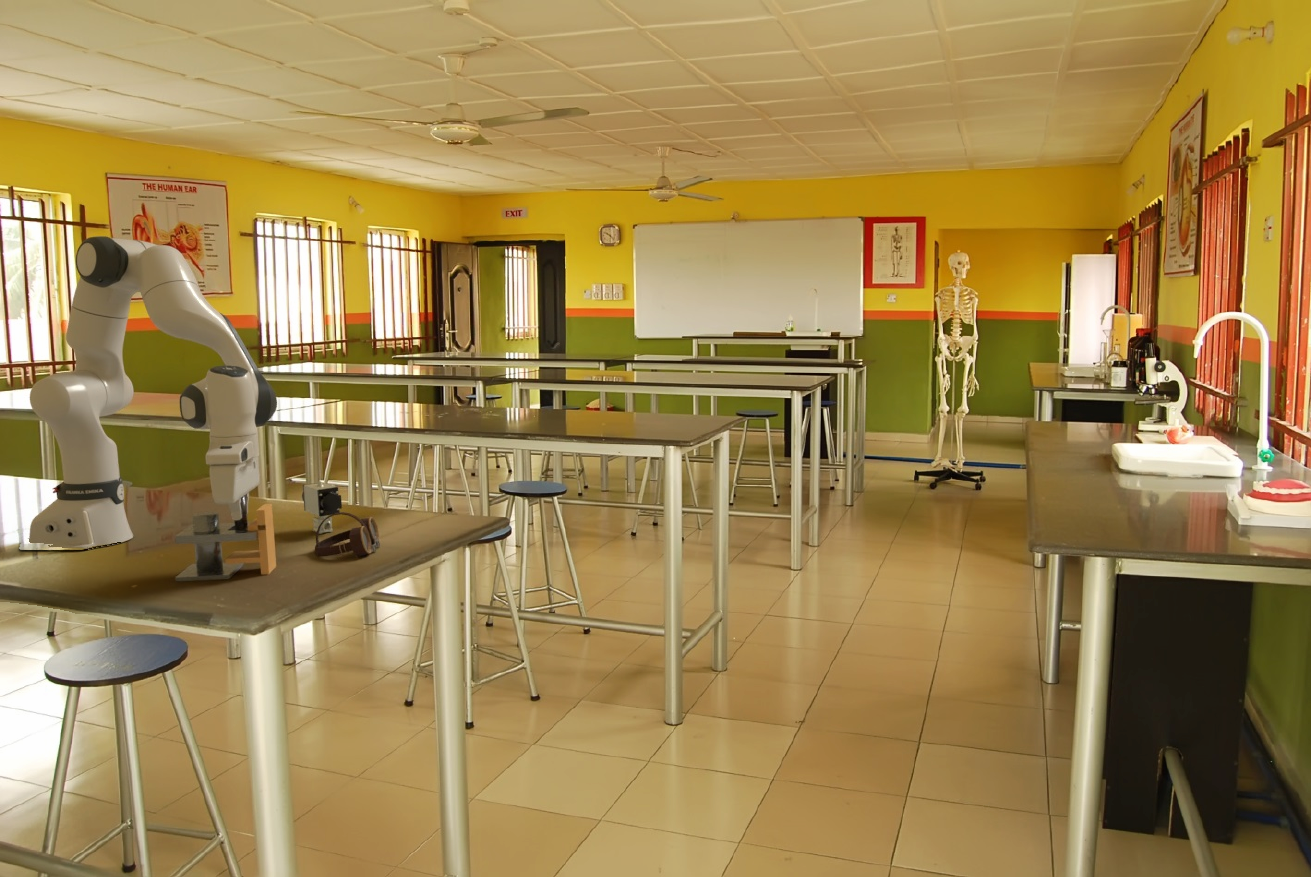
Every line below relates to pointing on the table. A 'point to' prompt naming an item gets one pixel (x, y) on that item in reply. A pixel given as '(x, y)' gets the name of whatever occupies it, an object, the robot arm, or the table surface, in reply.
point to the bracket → (260, 542)
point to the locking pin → (242, 522)
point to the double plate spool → (210, 547)
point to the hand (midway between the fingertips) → (240, 517)
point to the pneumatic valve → (321, 504)
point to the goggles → (358, 537)
